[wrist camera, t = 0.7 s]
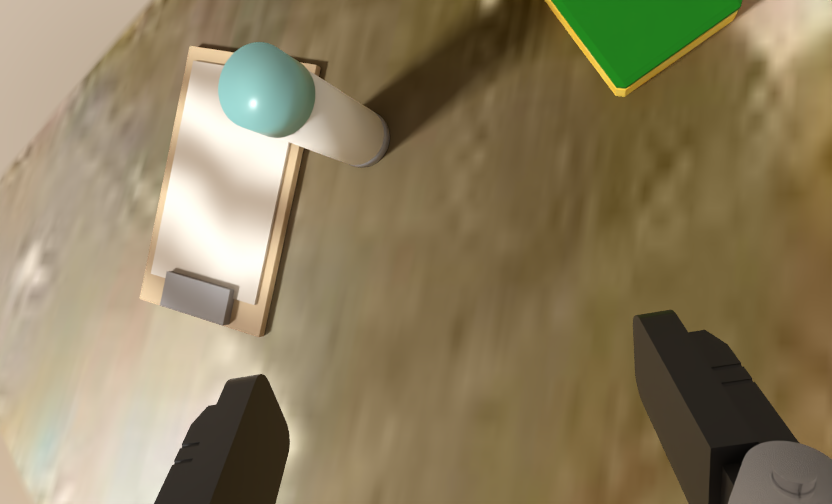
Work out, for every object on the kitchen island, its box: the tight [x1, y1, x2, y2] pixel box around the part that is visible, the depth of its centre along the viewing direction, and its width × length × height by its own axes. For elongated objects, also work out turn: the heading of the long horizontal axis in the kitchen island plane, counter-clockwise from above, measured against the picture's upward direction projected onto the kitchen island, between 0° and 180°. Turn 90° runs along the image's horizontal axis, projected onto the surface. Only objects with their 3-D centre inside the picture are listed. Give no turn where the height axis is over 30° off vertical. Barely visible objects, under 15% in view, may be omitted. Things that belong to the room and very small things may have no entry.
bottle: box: [218, 42, 390, 168], centre depth 32 cm, size 4×4×12 cm
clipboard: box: [140, 46, 321, 337], centre depth 40 cm, size 18×10×1 cm, turn 167°
